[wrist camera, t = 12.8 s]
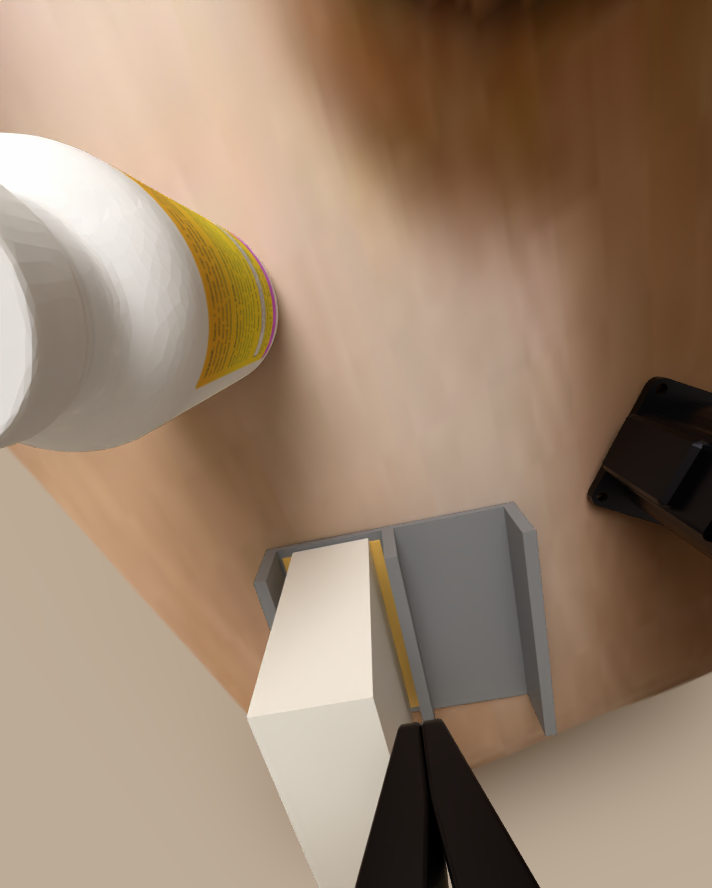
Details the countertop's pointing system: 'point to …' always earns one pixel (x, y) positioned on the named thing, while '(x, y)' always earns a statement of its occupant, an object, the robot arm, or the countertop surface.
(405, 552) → the slot rack
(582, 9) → the countertop surface
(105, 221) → the supplement bottle
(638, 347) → the countertop surface
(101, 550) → the countertop surface
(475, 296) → the countertop surface
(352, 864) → the white rectangular box
